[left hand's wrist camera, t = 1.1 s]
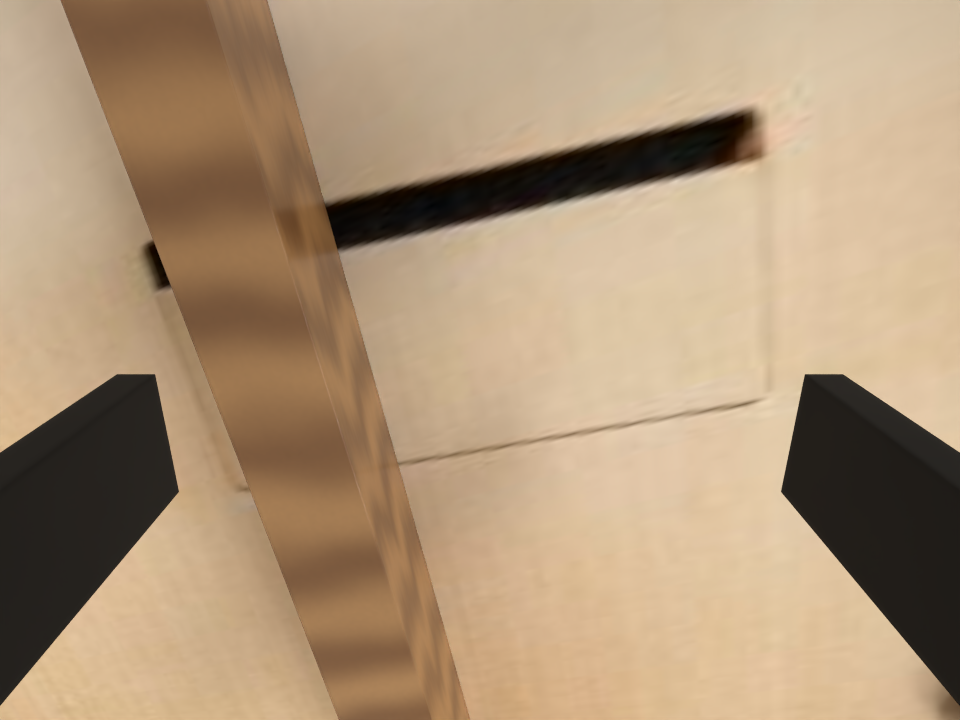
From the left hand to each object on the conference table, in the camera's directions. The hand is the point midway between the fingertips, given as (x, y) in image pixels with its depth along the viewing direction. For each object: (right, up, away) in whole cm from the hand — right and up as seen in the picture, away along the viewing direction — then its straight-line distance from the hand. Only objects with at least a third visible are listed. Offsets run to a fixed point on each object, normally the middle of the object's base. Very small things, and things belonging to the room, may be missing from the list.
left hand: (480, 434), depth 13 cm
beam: (-6, -10, +26) cm, 29 cm away
